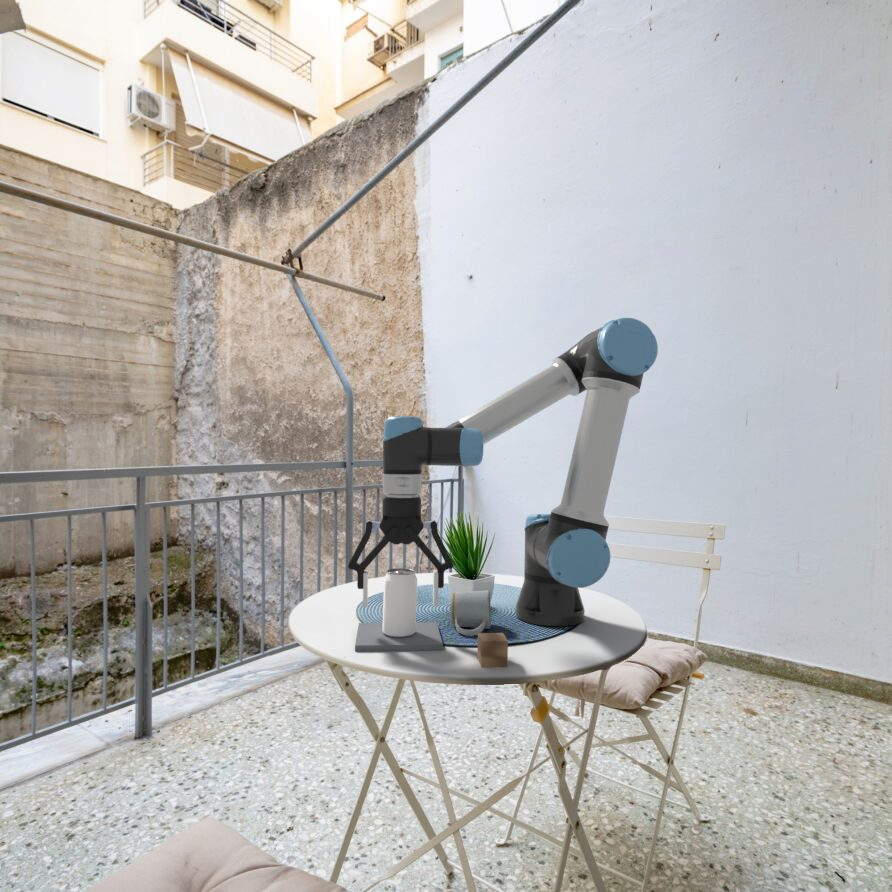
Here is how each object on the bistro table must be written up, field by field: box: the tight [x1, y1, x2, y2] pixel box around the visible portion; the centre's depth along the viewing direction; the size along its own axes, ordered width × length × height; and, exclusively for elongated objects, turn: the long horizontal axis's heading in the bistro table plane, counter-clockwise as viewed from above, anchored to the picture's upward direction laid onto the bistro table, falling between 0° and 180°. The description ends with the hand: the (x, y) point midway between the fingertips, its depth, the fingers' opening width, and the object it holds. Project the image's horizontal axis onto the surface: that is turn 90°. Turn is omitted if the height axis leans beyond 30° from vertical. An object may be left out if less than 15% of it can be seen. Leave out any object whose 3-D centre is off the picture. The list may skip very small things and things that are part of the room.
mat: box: [354, 621, 444, 652], centre depth 113 cm, size 16×14×1 cm
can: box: [382, 567, 418, 638], centre depth 114 cm, size 6×6×12 cm
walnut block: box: [476, 632, 509, 668], centre depth 102 cm, size 4×4×4 cm
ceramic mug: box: [450, 589, 492, 636], centre depth 121 cm, size 11×8×8 cm
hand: (400, 605), depth 114 cm, fingers open, 13 cm apart
